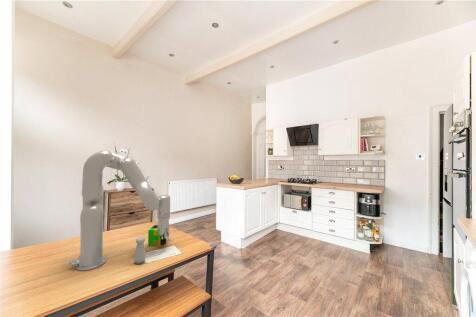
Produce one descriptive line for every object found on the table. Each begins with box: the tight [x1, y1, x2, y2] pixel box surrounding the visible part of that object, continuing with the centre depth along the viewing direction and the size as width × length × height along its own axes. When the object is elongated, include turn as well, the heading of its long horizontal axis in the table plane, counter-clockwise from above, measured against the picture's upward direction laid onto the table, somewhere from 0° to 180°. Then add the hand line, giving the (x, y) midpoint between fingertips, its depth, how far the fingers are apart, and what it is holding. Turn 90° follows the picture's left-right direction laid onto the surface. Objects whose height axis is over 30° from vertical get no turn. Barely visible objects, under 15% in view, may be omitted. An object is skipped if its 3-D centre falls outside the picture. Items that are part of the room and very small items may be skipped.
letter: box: [143, 245, 182, 264], centre depth 117 cm, size 20×13×1 cm, turn 126°
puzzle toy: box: [147, 224, 170, 247], centre depth 133 cm, size 10×10×10 cm
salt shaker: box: [133, 236, 146, 265], centre depth 107 cm, size 6×6×13 cm
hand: (163, 244), depth 125 cm, fingers closed
